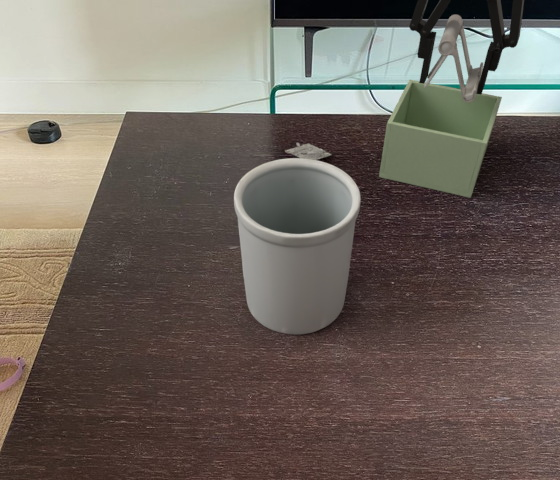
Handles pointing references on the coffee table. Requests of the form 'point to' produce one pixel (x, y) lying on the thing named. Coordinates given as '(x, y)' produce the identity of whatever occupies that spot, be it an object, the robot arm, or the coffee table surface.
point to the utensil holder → (296, 242)
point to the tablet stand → (457, 58)
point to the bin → (438, 138)
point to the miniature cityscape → (310, 154)
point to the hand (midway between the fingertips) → (451, 84)
